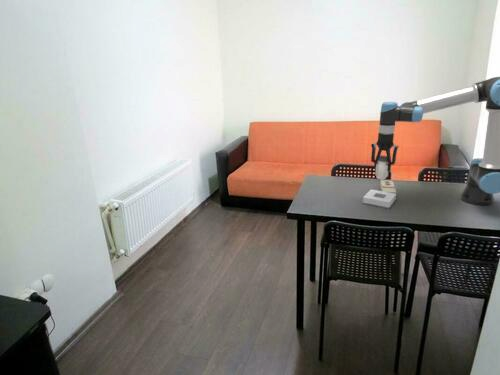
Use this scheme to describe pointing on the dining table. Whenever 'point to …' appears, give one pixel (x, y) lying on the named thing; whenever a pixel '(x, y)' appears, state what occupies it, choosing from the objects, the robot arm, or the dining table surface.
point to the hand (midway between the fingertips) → (381, 175)
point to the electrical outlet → (387, 186)
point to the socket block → (379, 198)
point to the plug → (382, 167)
